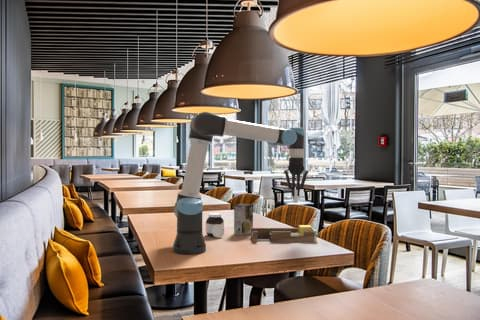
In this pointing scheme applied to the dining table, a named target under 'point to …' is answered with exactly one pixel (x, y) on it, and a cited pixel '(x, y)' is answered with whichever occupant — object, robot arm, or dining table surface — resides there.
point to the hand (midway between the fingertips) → (295, 202)
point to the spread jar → (215, 225)
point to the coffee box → (243, 219)
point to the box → (282, 235)
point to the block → (304, 229)
